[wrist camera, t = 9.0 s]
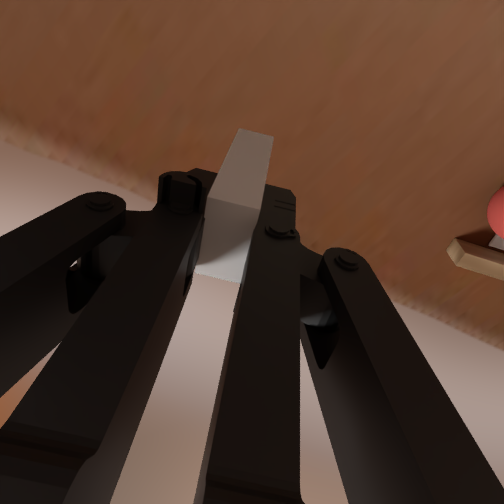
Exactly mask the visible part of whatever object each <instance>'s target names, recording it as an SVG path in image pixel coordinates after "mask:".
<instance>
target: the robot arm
mask: <svg viewBox="0 0 504 504" xmlns="http://www.w3.org/2000/svg"><path fill="white" fill-rule="evenodd" d="M273 138H274V137H273V136H269V135H265V134H261V133H257V132H253V131H249V130H245V129H241V128H239V129H238V132H237V134H236V136H235V138H234V140H233V142H232V145H231V147H230V149H229V151H228V153H227V155H226V157H225V160H224V162H223V164H222V166H221V168H220V170H219V172H218V173H215V172H210V171H206V170H202V169H198V168H195V169H192V170H190V171H188V172H181V171H171V172H166V173H163V174H162V175H160V176H159V183H158V197H157V204H156V205H155V207H154V208H153V210H151V211H129V210H126V202H125V201H124V200H123V199H122V198H120V197H119V196H117V195H114V194H111V193H108V192H98V191H97V192H91V193H85V194H83V195H80V196H78V197H76V198H74V199H72V200H70V201H68V202H66V203H64V204H62V205H60V206H58V207H56V208H55V209H53V210H51V211H49V212H47V213H45V214H43V215H41V216H39V217H37V218H35V219H33V220H31V221H30V222H28V223H26V224H24V225H22V226H20V227H18V228H16V229H14V230H13V231H10V232H8V233H7V234H5V235H3V236H1V237H0V397H2V396H3V395H4V394H5V393H6V392H7V391H8V390H9V389H10V388H11V387H12V386H13V385H14V384H16V383H17V382H18V381H19V380H20V379H21V378H22V377H23V376H24V375H25V374H27V373H28V372H29V370H31V369H32V368H33V367H34V366H35V365H36V364H37V363H38V362H39V361H40V360H41V359H42V358H44V357H45V356H46V355H47V354H48V353H49V352H50V351H52V349H54V348H55V347H56V346H57V345H58V344H59V343H60V342H61V341H62V342H61V343H60V344H59V346H58V348H57V349H56V350H55V352H54V353H53V355H52V356H51V358H50V359H49V361H48V362H47V363H46V365H45V366H44V368H43V369H42V371H41V372H40V374H39V375H38V376H37V378H36V379H35V381H34V382H33V384H32V385H31V386H30V388H29V389H28V391H27V392H26V394H25V395H24V397H23V398H22V400H21V401H20V403H19V404H18V405H17V407H16V408H15V410H14V411H13V413H12V414H11V416H10V417H9V418H8V420H7V421H6V422H5V424H4V425H3V426H2V427H1V429H0V504H110V501H111V498H112V495H113V493H114V490H115V487H116V485H117V482H118V480H119V477H120V474H121V471H122V468H123V466H124V463H125V461H126V458H127V455H128V453H129V450H130V447H131V445H132V442H133V439H134V437H135V434H136V431H137V428H138V426H139V423H140V420H141V418H142V415H143V413H144V410H145V407H146V404H147V402H148V399H149V396H150V394H151V391H152V388H153V386H154V383H155V380H156V378H157V375H158V372H159V370H160V367H161V364H162V361H163V359H164V356H165V354H166V351H167V348H168V345H169V342H170V340H171V337H172V335H173V332H174V329H175V327H176V324H177V321H178V319H179V316H180V313H181V311H182V308H183V305H184V302H185V300H186V297H187V294H188V292H189V289H190V286H191V284H192V278H193V272H194V269H195V266H196V269H195V273H198V274H202V275H206V276H210V277H214V278H219V279H223V280H227V281H231V282H236V283H240V287H239V292H238V295H237V299H236V303H235V307H234V311H233V312H234V314H233V319H232V324H231V329H230V333H229V338H228V343H227V348H226V352H225V357H224V361H223V366H222V371H221V376H220V380H219V385H218V390H217V395H216V399H215V404H214V409H213V413H212V418H211V423H210V427H209V432H208V437H207V442H206V446H205V451H204V456H203V460H202V465H201V470H200V475H199V479H198V484H197V489H196V494H195V498H194V503H193V504H305V503H304V502H303V501H302V498H301V494H300V339H301V343H302V346H303V349H304V353H305V356H306V359H307V363H308V366H309V370H310V373H311V377H312V380H313V383H314V387H315V390H316V394H317V397H318V401H319V404H320V407H321V411H322V414H323V417H324V421H325V424H326V428H327V431H328V435H329V438H330V441H331V445H332V448H333V452H334V455H335V459H336V462H337V465H338V469H339V472H340V476H341V479H342V482H343V486H344V489H345V492H346V496H347V499H348V503H349V504H504V488H503V487H502V485H501V483H500V482H499V480H498V478H497V476H496V475H495V473H494V471H493V470H492V468H491V467H490V465H489V463H488V461H487V460H486V458H485V457H484V455H483V453H482V451H481V450H480V448H479V447H478V445H477V443H476V442H475V440H474V438H473V437H472V435H471V433H470V432H469V430H468V428H467V427H466V425H465V423H464V422H463V420H462V418H461V417H460V415H459V413H458V412H457V410H456V408H455V407H454V405H453V404H452V402H451V400H450V398H449V397H448V395H447V394H446V392H445V390H444V388H443V387H442V385H441V383H440V382H439V380H438V379H437V377H436V375H435V373H434V372H433V370H432V368H431V367H430V365H429V364H428V362H427V360H426V358H425V357H424V355H423V353H422V352H421V350H420V348H419V347H418V345H417V343H416V342H415V340H414V338H413V337H412V335H411V333H410V332H409V330H408V328H407V327H406V325H405V323H404V322H403V320H402V318H401V317H400V315H399V313H398V312H397V310H396V309H395V307H394V305H393V303H392V302H391V300H390V298H389V297H388V295H387V293H386V292H385V290H384V288H383V287H382V285H381V283H380V282H379V280H378V278H377V277H376V275H375V273H374V272H373V270H372V269H371V267H370V265H369V264H368V263H367V261H366V260H365V259H364V258H363V257H361V256H360V255H358V254H357V253H356V252H354V251H351V250H349V249H344V248H330V249H327V250H326V251H325V253H324V254H323V256H322V255H320V254H318V253H315V252H313V251H311V250H309V249H307V248H306V247H305V246H303V245H302V244H301V243H300V235H299V232H298V231H297V230H296V229H295V218H296V212H295V211H296V197H295V196H294V194H293V193H292V192H291V190H288V189H284V188H280V187H276V186H272V185H268V184H265V182H266V177H267V171H268V166H269V160H270V155H271V149H272V144H273ZM76 260H77V263H76V264H75V265H73V266H72V267H70V266H71V265H72V264H73V263H74V262H75V261H76Z"/></svg>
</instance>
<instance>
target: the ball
mask: <svg viewBox="0 0 504 504" xmlns="http://www.w3.org/2000/svg"><path fill="white" fill-rule="evenodd" d="M487 217H488V222H489V224H490V226H491V228H492V229H493V231H494V232H495V233H496V234H497V235H498V236H500V237H501V238H503V239H504V186H503V187H501V188H500V189H499V190H498V191H497V192H496V193H495V194H494V195H493V197H492V198H491V200H490V202H489V205H488V209H487Z"/></svg>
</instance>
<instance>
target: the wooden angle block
mask: <svg viewBox="0 0 504 504" xmlns="http://www.w3.org/2000/svg"><path fill="white" fill-rule="evenodd" d="M446 251H447V252H448V254H449V255H450V257H451V258H452V260H453V262H454V263H455V265H456V266H459V267H462V268H465V269H468V270H471V271H475V272H478V273H481V274H484V275H487V276H491V277H494V278H497V279H500V280H503V281H504V253H501V252H498V251H494V250H491V249H488V248H485V247H482V246H479V245H475V244H472V243H469V242H466V241H463V240H460V239H457V238H454V240H453V241H452V243H451V244H450V245H449V247H448V248H447V250H446Z"/></svg>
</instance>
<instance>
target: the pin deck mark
mask: <svg viewBox="0 0 504 504" xmlns="http://www.w3.org/2000/svg"><path fill="white" fill-rule="evenodd" d="M488 245H489V246H492V247H495V248H498V249H501V250H504V239H503V238H501V237H500V236H498V235H497V234H495V236H494V237H493V238H492V240H491V241H490V242H489V244H488Z"/></svg>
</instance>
